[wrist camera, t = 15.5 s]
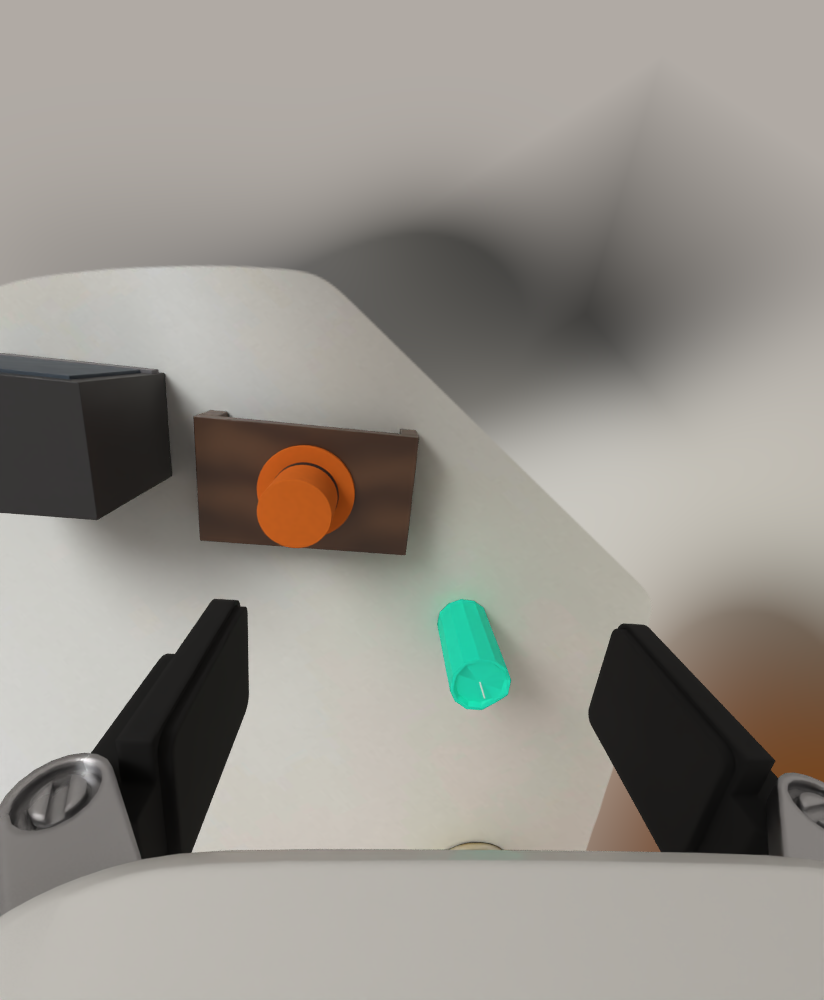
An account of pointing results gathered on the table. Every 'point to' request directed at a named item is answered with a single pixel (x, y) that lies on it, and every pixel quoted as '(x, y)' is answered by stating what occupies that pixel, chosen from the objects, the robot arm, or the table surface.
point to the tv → (79, 436)
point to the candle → (472, 656)
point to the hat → (303, 495)
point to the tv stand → (367, 454)
